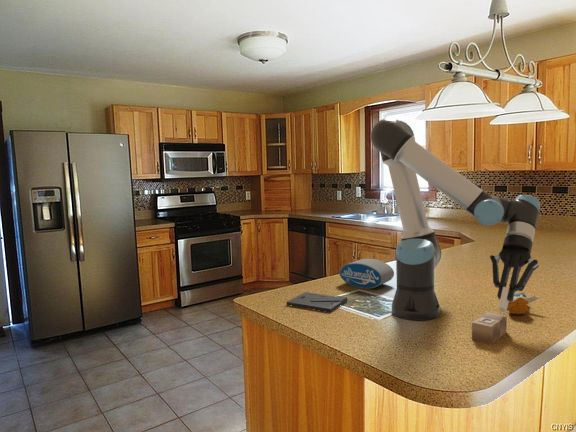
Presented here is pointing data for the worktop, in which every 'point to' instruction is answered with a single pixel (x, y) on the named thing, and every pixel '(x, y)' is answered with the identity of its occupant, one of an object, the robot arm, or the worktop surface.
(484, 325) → the block
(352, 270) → the sign
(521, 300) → the toy
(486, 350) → the worktop surface
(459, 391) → the worktop surface
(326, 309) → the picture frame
